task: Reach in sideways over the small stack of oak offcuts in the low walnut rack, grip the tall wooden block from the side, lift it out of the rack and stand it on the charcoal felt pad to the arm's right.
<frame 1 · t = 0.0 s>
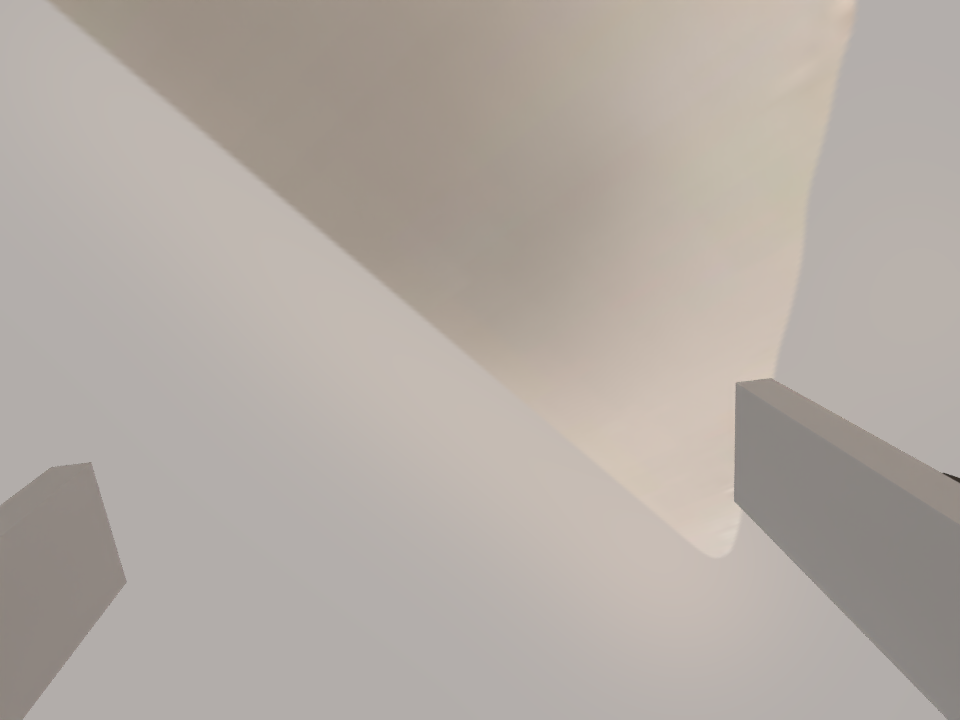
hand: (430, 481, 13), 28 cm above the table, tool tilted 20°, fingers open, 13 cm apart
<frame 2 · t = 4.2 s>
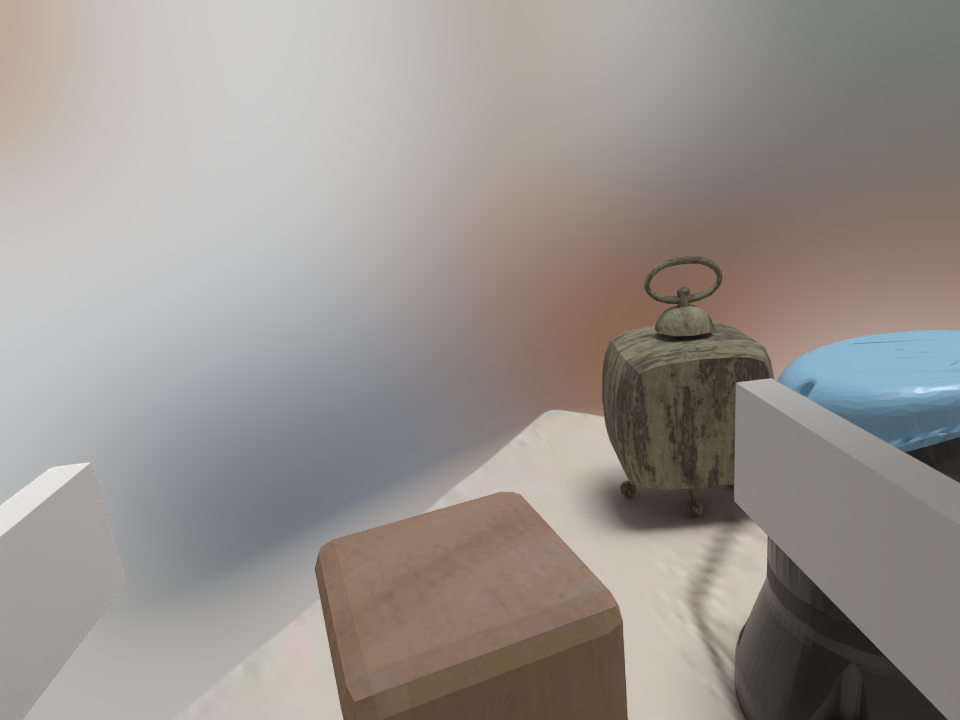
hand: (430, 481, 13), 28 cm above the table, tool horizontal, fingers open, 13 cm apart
tabletop clock: (687, 506, 63), on the table
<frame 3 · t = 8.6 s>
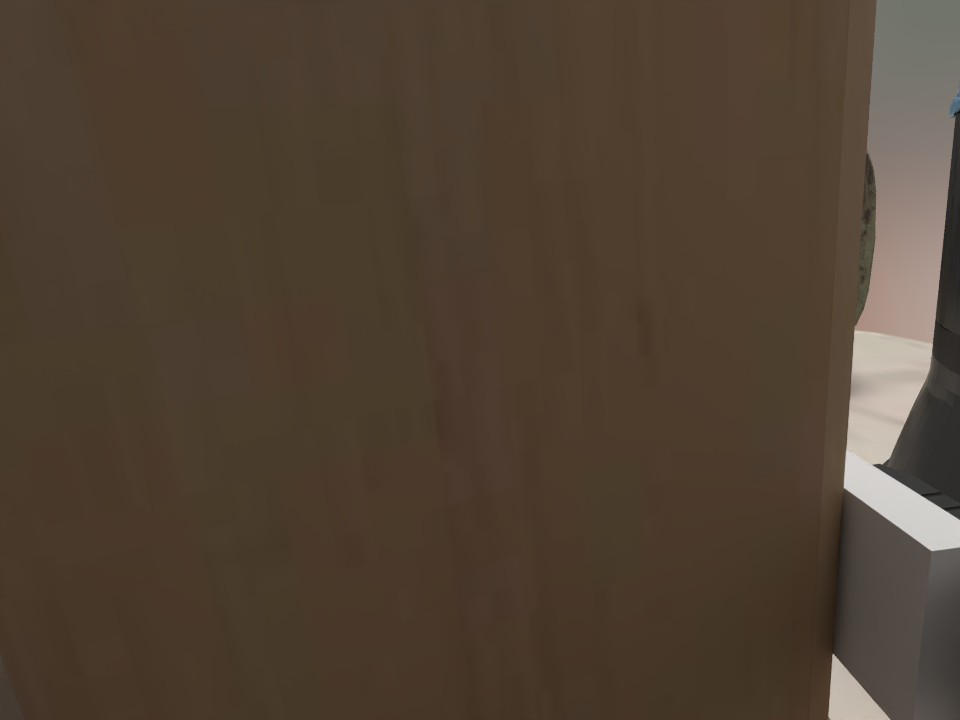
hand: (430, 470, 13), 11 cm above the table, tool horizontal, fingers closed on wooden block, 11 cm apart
tabletop clock: (746, 387, 48), on the table
when the fingers open (13 cm above the table, at t = 14.4 s): wooden block drops 1 cm, resting on felt pad.
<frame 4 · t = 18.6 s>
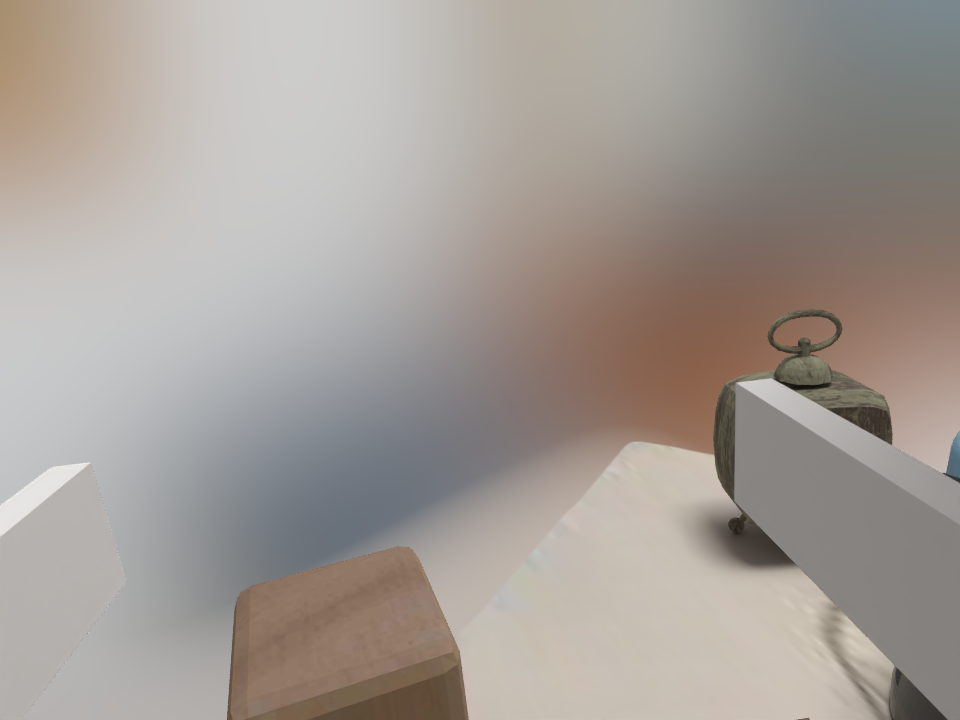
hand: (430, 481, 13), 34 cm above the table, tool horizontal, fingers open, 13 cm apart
tabletop clock: (797, 544, 66), on the table
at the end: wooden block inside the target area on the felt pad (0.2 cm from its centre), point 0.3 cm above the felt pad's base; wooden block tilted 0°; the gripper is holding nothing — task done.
